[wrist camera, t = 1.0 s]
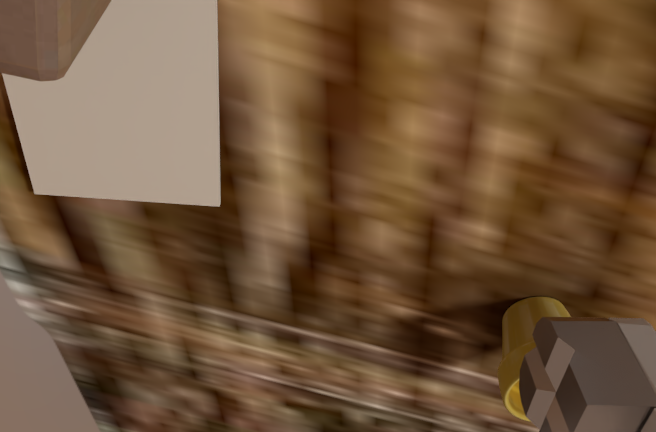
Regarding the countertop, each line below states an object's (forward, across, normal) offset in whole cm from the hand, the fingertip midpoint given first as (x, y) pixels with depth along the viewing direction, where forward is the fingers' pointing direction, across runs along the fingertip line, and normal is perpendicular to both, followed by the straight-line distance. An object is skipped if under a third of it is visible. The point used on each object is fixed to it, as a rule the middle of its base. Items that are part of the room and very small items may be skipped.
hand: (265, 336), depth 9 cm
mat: (+39, +14, +15) cm, 44 cm away
